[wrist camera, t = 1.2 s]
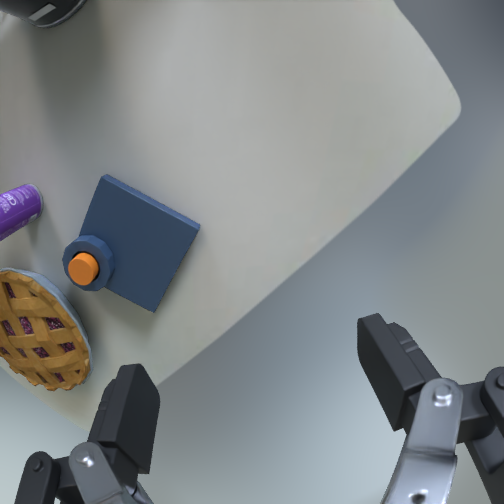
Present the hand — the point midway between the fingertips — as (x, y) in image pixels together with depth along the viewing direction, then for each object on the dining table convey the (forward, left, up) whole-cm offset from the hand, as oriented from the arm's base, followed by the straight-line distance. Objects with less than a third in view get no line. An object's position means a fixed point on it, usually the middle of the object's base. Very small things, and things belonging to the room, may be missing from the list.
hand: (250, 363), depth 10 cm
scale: (-8, -10, -24) cm, 27 cm away
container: (-23, -12, -24) cm, 35 cm away
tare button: (-12, -13, -20) cm, 27 cm away
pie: (-18, -30, -24) cm, 42 cm away
